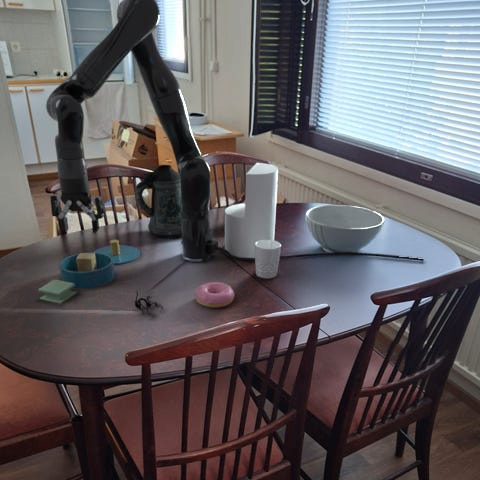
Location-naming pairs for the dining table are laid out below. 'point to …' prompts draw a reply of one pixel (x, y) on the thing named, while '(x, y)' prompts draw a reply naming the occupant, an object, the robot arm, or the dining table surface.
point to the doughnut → (214, 295)
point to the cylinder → (253, 212)
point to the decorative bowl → (343, 227)
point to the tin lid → (119, 252)
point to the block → (86, 262)
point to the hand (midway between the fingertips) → (80, 231)
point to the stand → (57, 291)
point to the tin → (89, 277)
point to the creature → (145, 302)
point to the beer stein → (162, 202)
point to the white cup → (267, 258)
